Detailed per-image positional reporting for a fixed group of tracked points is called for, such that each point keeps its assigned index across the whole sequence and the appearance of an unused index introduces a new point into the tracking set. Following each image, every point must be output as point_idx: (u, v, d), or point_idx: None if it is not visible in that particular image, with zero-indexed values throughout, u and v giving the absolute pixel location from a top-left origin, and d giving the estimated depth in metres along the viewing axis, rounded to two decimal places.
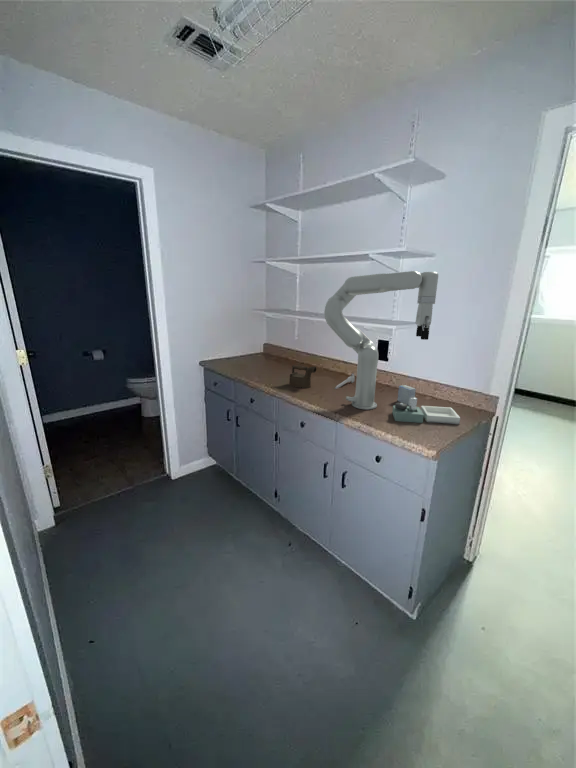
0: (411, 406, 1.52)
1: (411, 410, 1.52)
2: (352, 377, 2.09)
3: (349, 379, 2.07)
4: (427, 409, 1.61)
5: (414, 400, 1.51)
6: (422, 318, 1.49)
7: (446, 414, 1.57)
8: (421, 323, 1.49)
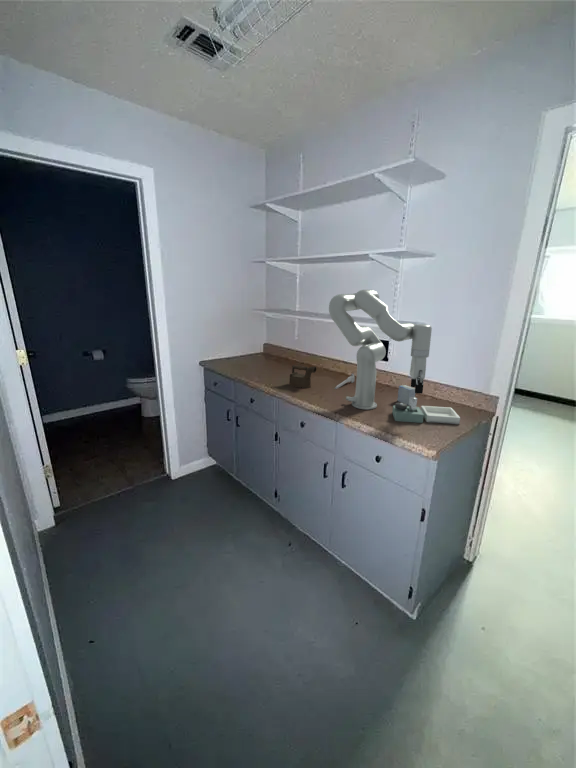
0: (411, 406, 1.52)
1: (411, 410, 1.52)
2: (352, 377, 2.09)
3: (349, 379, 2.07)
4: (427, 409, 1.61)
5: (414, 400, 1.51)
6: (416, 372, 1.43)
7: (446, 414, 1.57)
8: (415, 377, 1.44)
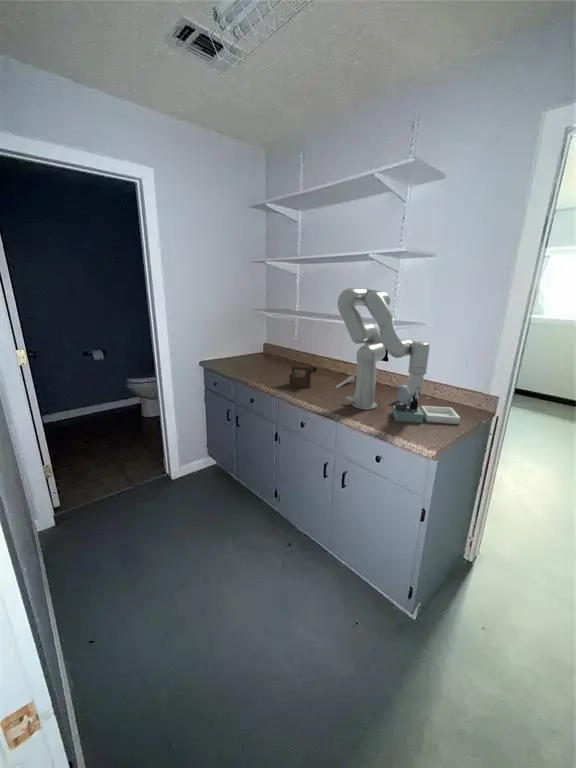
0: None
1: (411, 410, 1.52)
2: (352, 377, 2.09)
3: (349, 379, 2.07)
4: (427, 409, 1.61)
5: None
6: (413, 389, 1.46)
7: (446, 414, 1.57)
8: (412, 393, 1.47)
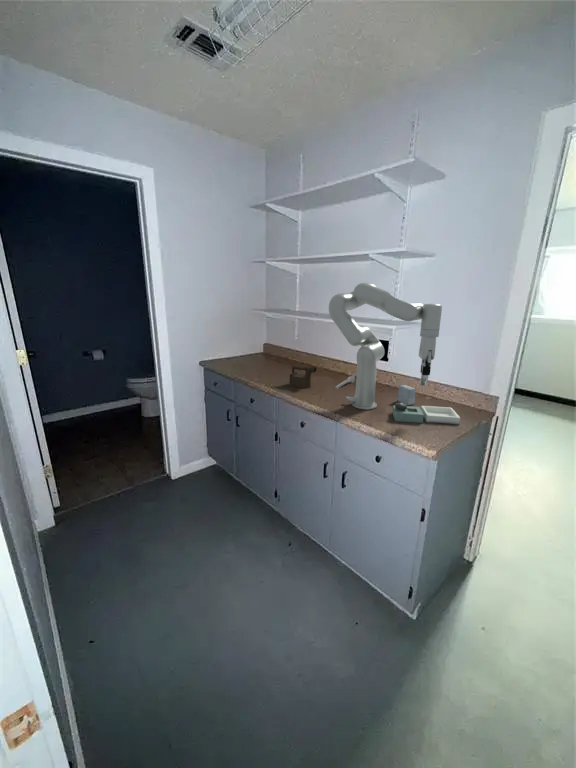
0: None
1: (423, 376, 1.48)
2: (352, 377, 2.09)
3: (349, 379, 2.07)
4: (427, 409, 1.61)
5: None
6: (425, 352, 1.41)
7: (446, 414, 1.57)
8: (424, 357, 1.42)
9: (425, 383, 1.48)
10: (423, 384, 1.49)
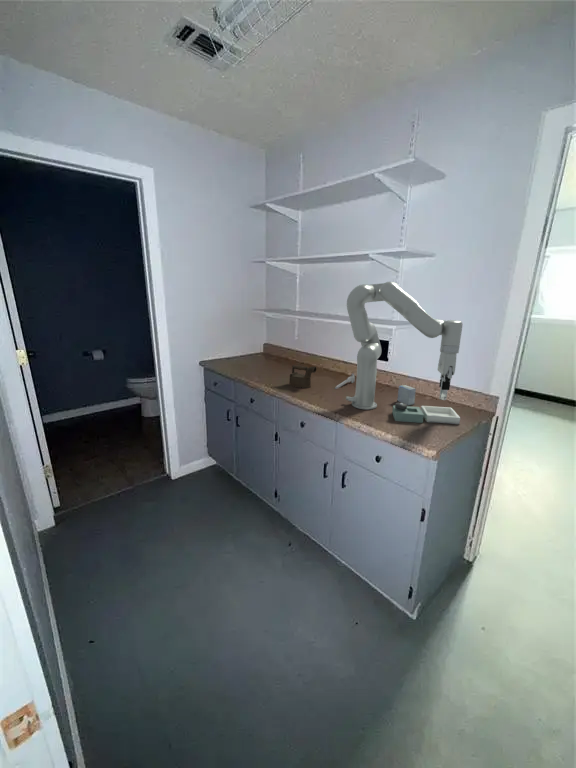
0: None
1: (443, 390, 1.50)
2: (352, 377, 2.09)
3: (349, 379, 2.07)
4: (427, 409, 1.61)
5: None
6: (445, 368, 1.44)
7: (446, 414, 1.57)
8: (444, 373, 1.45)
9: (444, 397, 1.51)
10: (442, 398, 1.51)
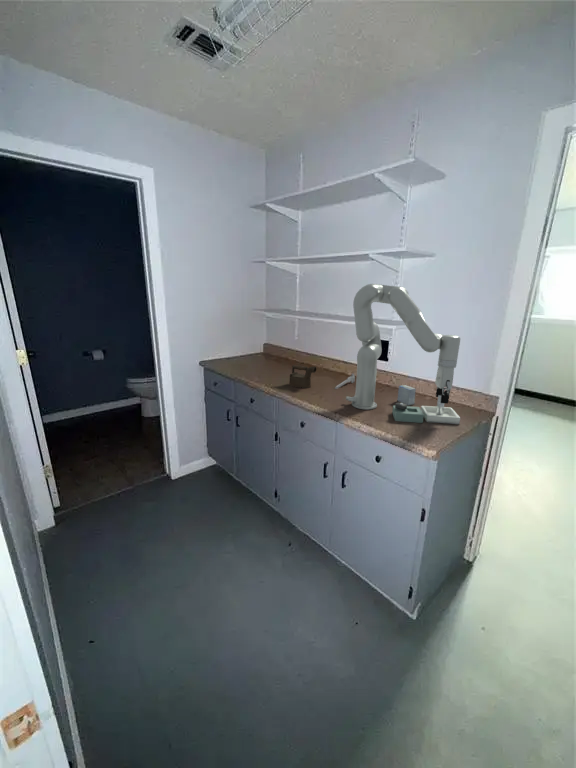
0: (439, 404, 1.53)
1: (439, 408, 1.53)
2: (352, 377, 2.09)
3: (349, 379, 2.07)
4: (427, 409, 1.61)
5: None
6: (443, 382, 1.46)
7: (446, 414, 1.57)
8: (442, 387, 1.47)
9: (441, 415, 1.54)
10: None
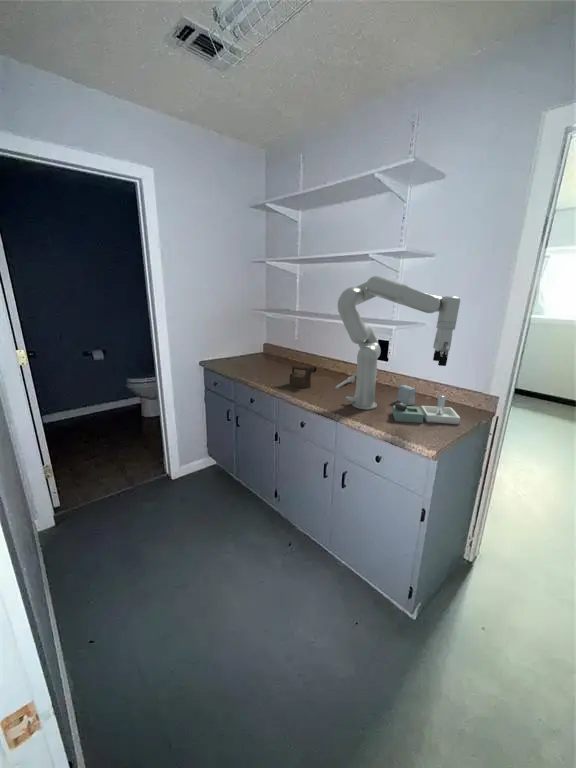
0: (439, 404, 1.53)
1: (439, 408, 1.53)
2: (352, 377, 2.09)
3: (349, 379, 2.07)
4: (427, 409, 1.61)
5: (443, 398, 1.51)
6: (441, 344, 1.44)
7: (446, 414, 1.57)
8: (439, 349, 1.44)
9: (441, 415, 1.54)
10: None
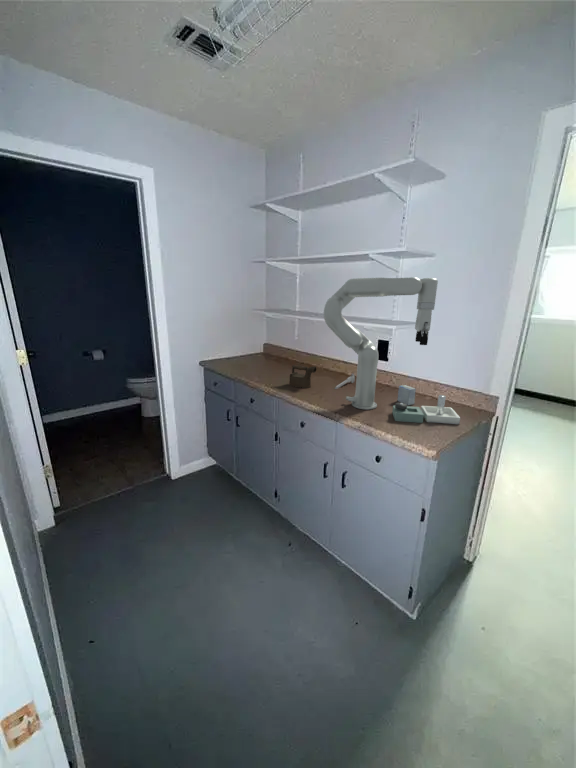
0: (439, 404, 1.53)
1: (439, 408, 1.53)
2: (352, 377, 2.09)
3: (349, 379, 2.07)
4: (427, 409, 1.61)
5: (443, 398, 1.51)
6: (421, 324, 1.50)
7: (446, 414, 1.57)
8: (420, 329, 1.51)
9: (441, 415, 1.54)
10: None
